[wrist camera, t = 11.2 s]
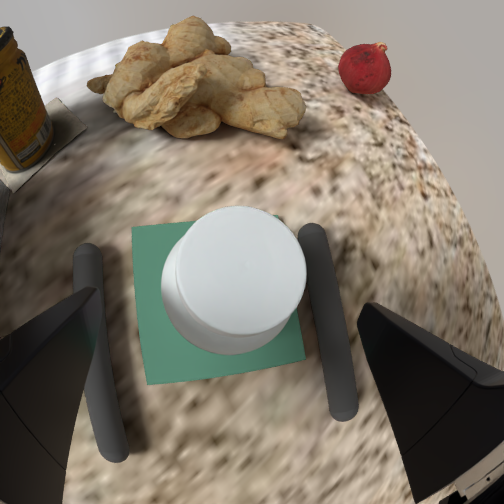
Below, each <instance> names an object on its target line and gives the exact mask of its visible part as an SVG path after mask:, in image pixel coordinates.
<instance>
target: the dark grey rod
mask: <svg viewBox="0 0 504 504" xmlns="http://www.w3.org/2000/svg"><path fill="white" fill-rule="evenodd" d="M86 286H90V287H97V288H98V289H99V291H100V298H101V304H102V318H101V322H100V327H99V331H98V336H97V341H96V346H95V351H94V355H93V359H92V362H91V366H90V369H89V372H88V376H87V379H86V383H85V386H84V392H85V397H86V402H87V406H88V411H89V415H90V419H91V423H92V427H93V431H94V435H95V439H96V442H97V446H98V449H99V452H100V453H101V455H102V456H103V457H104V458H105V459H106V460H108V461H110V462H114V463H119V462H122V461H124V460H125V459H127V457H128V455H129V445H128V441H127V438H126V434H125V430H124V426H123V422H122V418H121V413H120V409H119V404H118V399H117V394H116V389H115V384H114V378H113V372H112V366H111V359H110V352H109V345H108V337H107V328H106V317H105V305H104V290H103V264H102V254H101V252H100V250H99V248H98V247H97V246H95V245H94V244H91V243H84V244H82V245H80V246H79V247H78V248H77V249H76V250H75V252H74V255H73V294H74V293H76V292H77V291H79V290H81V289H82V288H84V287H86Z"/></svg>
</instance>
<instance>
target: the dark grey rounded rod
mask: <svg viewBox="0 0 504 504" xmlns="http://www.w3.org/2000/svg"><path fill="white" fill-rule="evenodd" d="M298 242H299V244H300V246H301V249H302V251H303V254H304V257H305V262H306V273H307V275H306V280H307V285H308V290H309V295H310V300H311V305H312V310H313V315H314V321H315V326H316V331H317V337H318V342H319V348H320V354H321V360H322V365H323V372H324V378H325V384H326V390H327V397H328V404H329V410H330V414H331V416H332V417H333V418H334V419H335V420H337V421H342V422H344V421H349V420H351V419H352V418H353V417H355V415H356V414H357V412H358V409H359V404H358V396H357V389H356V382H355V375H354V368H353V362H352V356H351V350H350V344H349V338H348V333H347V327H346V322H345V317H344V312H343V307H342V302H341V297H340V292H339V288H338V283H337V279H336V274H335V270H334V265H333V261H332V257H331V253H330V249H329V244H328V240H327V236H326V233H325V231H324V229H323V228H322V227H321V226H320V225H318V224H316V223H308V224H306V225H304V226H303V227H302V228H301V229H300V230H299V233H298Z"/></svg>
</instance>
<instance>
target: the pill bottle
mask: <svg viewBox="0 0 504 504" xmlns="http://www.w3.org/2000/svg"><path fill="white" fill-rule="evenodd" d="M306 275H307V273H306V262H305V257H304V254H303V251H302V249H301V246H300V244H299V242H298V240H297V239H296V237H295V236H294V234H293V233H292V232H291V230H290V229H289V228H288V227H287V226H286V225H285V224H284V223H283V222H282V221H280V220H279V219H278V218H276V217H274V216H273V215H271V214H269V213H267V212H265V211H262V210H260V209H257V208H253V207H249V206H229V207H224V208H220V209H217V210H214V211H212V212H210V213H208V214H206V215H204V216H203V217H201V218H200V219H199V220H197V221H196V222H195V223H194V224H193V225H192V226H191V227H190V228H189V230H188V231H187V232H186V234H185V235H184V236H183V237H182V238H181V239H180V240H179V241H178V242H177V243H176V244H175V246H174V247H173V248H172V250H171V252H170V253H169V255H168V257H167V259H166V262H165V265H164V268H163V272H162V279H161V293H162V300H163V304H164V308H165V311H166V313H167V315H168V317H169V319H170V321H171V323H172V324H173V326H174V327H175V329H176V330H177V331H178V332H179V333H180V334H181V335H182V336H183V337H184V338H185V339H186V340H187V341H189V342H190V343H191V344H193V345H195V346H197V347H198V348H200V349H203V350H205V351H208V352H211V353H215V354H222V355H237V354H242V353H246V352H250V351H253V350H255V349H258V348H260V347H262V346H264V345H265V344H267V343H268V342H270V341H271V340H272V339H273V338H275V337H276V336H277V335H278V334H279V332H280V331H281V330H282V329H283V328H284V326H285V325H286V323H287V321H288V320H289V318H290V316H291V314H292V313H293V311H294V310H295V309H296V307H297V306H298V304H299V302H300V300H301V298H302V295H303V292H304V289H305V284H306Z"/></svg>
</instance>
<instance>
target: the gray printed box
mask: <svg viewBox="0 0 504 504" xmlns="http://www.w3.org/2000/svg"><path fill="white" fill-rule="evenodd" d="M9 193H10V190H9V189H8V187H7V186H6V185H5V184H4V183H3V182H2V181H1V179H0V252H1V243H2V234H3V227H4V220H5V214H6V209H7V203H8V198H9Z"/></svg>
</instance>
